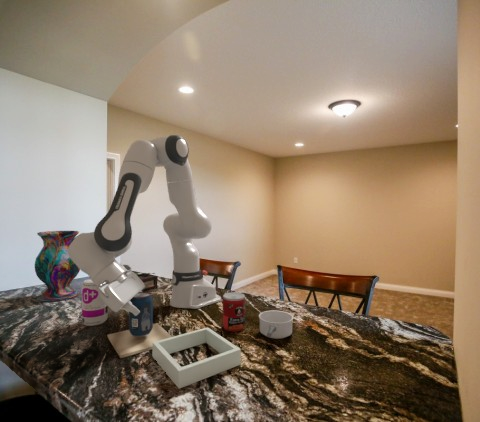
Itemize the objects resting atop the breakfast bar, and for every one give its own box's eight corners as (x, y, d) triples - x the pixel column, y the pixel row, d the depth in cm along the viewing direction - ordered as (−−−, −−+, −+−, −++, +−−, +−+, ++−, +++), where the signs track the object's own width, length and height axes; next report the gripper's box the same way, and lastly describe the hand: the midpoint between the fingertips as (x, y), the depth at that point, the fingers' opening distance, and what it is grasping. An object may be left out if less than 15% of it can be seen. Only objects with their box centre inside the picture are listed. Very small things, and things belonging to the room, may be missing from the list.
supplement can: (97, 327, 99) (97, 283, 99) (76, 325, 100) (76, 282, 100) (112, 318, 107) (112, 278, 107) (92, 316, 108) (92, 277, 108)
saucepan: (248, 351, 82) (249, 332, 82) (261, 324, 102) (262, 308, 102) (289, 357, 80) (289, 336, 79) (294, 328, 99) (294, 312, 99)
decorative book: (127, 267, 165) (162, 274, 148) (127, 280, 165) (162, 289, 148) (94, 273, 149) (129, 282, 132) (94, 288, 149) (129, 298, 132)
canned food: (228, 333, 94) (228, 300, 94) (219, 325, 101) (219, 293, 101) (249, 329, 98) (249, 297, 97) (238, 321, 105) (238, 291, 105)
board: (156, 325, 101) (156, 323, 101) (175, 342, 88) (175, 339, 88) (107, 337, 91) (107, 334, 91) (120, 358, 78) (120, 355, 78)
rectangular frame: (207, 340, 89) (207, 327, 89) (240, 364, 75) (240, 349, 75) (152, 356, 79) (152, 342, 79) (178, 388, 65) (179, 371, 65)
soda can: (137, 327, 94) (137, 290, 94) (156, 329, 92) (156, 292, 92) (124, 336, 87) (124, 296, 87) (144, 338, 85) (144, 298, 85)
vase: (89, 294, 136) (89, 231, 136) (46, 305, 121) (46, 234, 121) (68, 288, 146) (69, 229, 146) (27, 298, 131) (27, 232, 130)
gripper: (103, 278, 79) (139, 313, 79) (130, 264, 99) (158, 292, 100) (87, 294, 79) (123, 330, 79) (117, 277, 99) (145, 305, 99)
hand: (143, 308), depth 89 cm, fingers closed on soda can, 7 cm apart
